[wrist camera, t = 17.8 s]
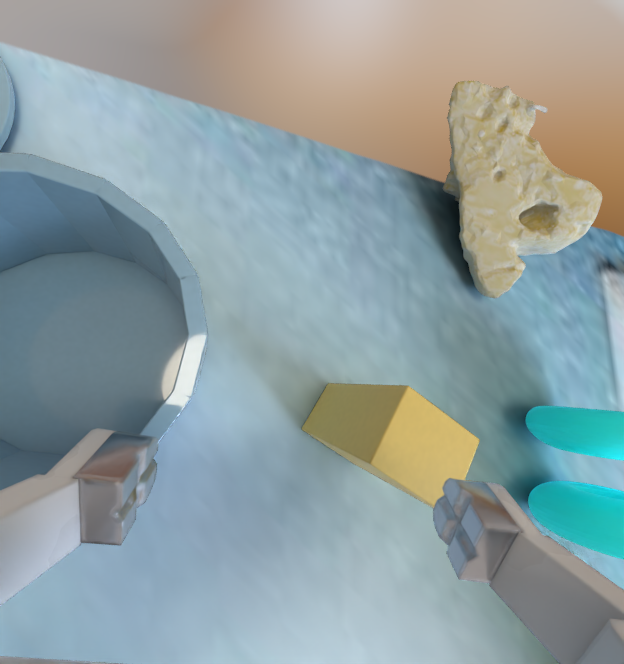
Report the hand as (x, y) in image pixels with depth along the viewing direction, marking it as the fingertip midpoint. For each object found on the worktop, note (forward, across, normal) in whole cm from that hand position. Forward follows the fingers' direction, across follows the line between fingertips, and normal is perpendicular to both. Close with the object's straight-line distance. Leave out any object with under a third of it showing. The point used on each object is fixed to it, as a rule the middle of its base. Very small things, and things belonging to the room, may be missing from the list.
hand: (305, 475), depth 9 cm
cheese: (+25, +14, +10) cm, 31 cm away
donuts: (+17, +26, -10) cm, 32 cm away
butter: (+13, +4, -7) cm, 16 cm away
